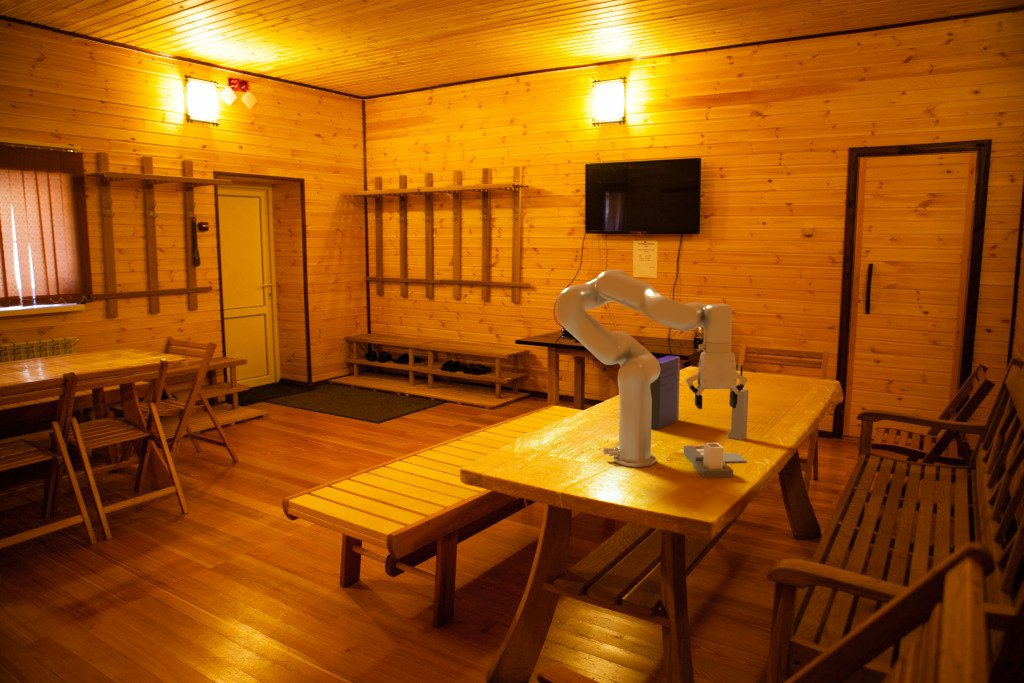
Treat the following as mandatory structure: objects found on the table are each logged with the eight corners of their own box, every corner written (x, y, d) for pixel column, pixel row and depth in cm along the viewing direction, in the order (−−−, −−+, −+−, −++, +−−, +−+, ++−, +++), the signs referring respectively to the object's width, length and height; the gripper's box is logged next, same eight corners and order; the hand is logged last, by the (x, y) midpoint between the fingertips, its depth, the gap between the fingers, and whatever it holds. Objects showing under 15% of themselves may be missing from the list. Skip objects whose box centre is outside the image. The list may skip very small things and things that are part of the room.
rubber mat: (720, 463, 212) (720, 461, 211) (711, 455, 219) (711, 453, 219) (746, 462, 212) (746, 460, 212) (736, 454, 220) (736, 452, 220)
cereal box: (666, 418, 265) (667, 355, 262) (678, 420, 262) (680, 356, 259) (646, 428, 251) (647, 361, 248) (659, 430, 248) (660, 363, 245)
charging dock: (703, 477, 198) (704, 465, 198) (681, 455, 220) (681, 443, 219) (733, 477, 199) (733, 464, 198) (708, 454, 220) (708, 443, 220)
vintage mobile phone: (732, 435, 241) (734, 363, 238) (746, 438, 238) (749, 364, 234) (727, 438, 238) (730, 364, 235) (742, 440, 235) (745, 366, 232)
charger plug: (708, 475, 201) (709, 447, 200) (703, 469, 206) (704, 442, 205) (722, 474, 201) (723, 447, 200) (716, 469, 206) (717, 442, 205)
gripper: (691, 350, 194) (689, 411, 196) (752, 349, 195) (750, 409, 197) (682, 346, 201) (682, 405, 204) (742, 345, 202) (740, 403, 205)
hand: (715, 407), depth 201 cm, fingers open, 9 cm apart
